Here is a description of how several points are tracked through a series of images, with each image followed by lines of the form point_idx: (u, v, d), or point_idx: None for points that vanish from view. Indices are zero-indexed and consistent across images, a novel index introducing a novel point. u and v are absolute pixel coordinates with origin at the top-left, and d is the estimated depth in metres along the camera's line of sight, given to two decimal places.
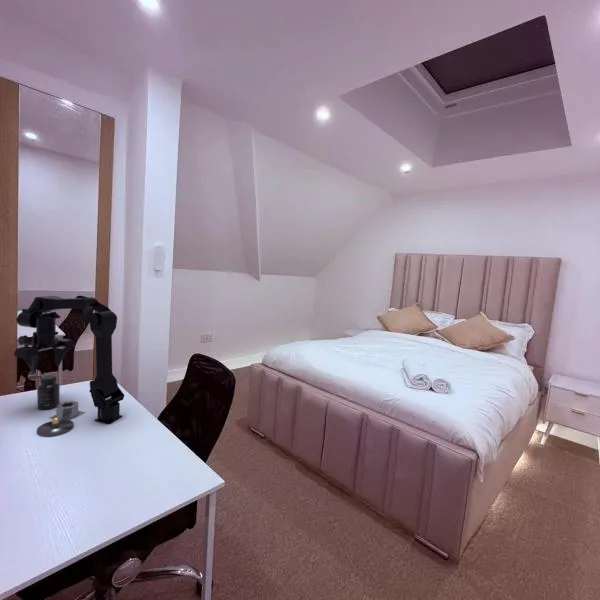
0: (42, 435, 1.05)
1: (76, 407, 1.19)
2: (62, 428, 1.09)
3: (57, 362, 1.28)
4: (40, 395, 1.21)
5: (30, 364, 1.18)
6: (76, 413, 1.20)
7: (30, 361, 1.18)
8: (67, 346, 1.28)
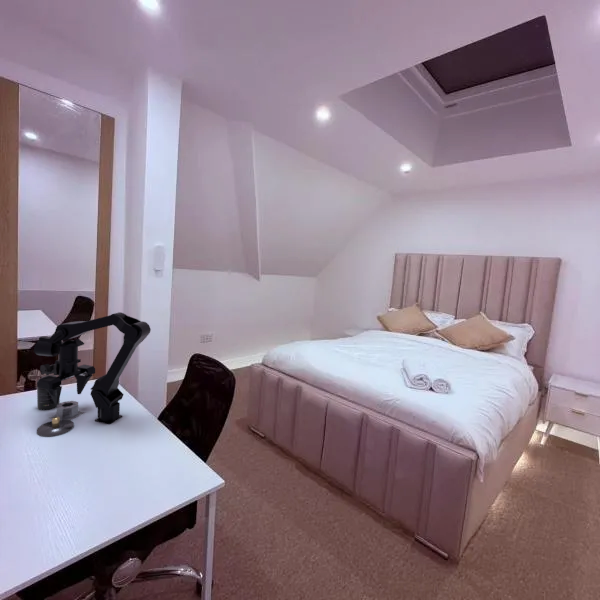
0: (42, 435, 1.05)
1: (76, 407, 1.19)
2: (62, 428, 1.09)
3: (79, 390, 1.23)
4: (40, 395, 1.21)
5: (53, 394, 1.13)
6: (76, 413, 1.20)
7: (53, 391, 1.13)
8: (89, 373, 1.24)
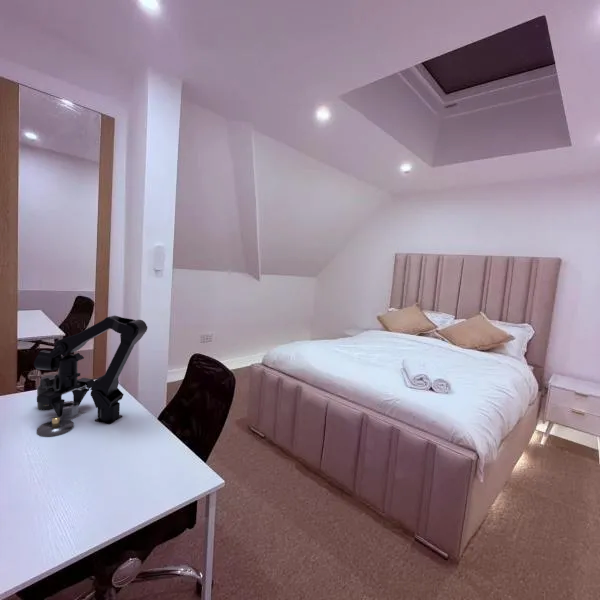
0: (42, 435, 1.05)
1: (76, 407, 1.19)
2: (62, 428, 1.09)
3: None
4: None
5: (56, 407, 1.15)
6: (76, 413, 1.20)
7: (56, 404, 1.15)
8: (89, 386, 1.24)
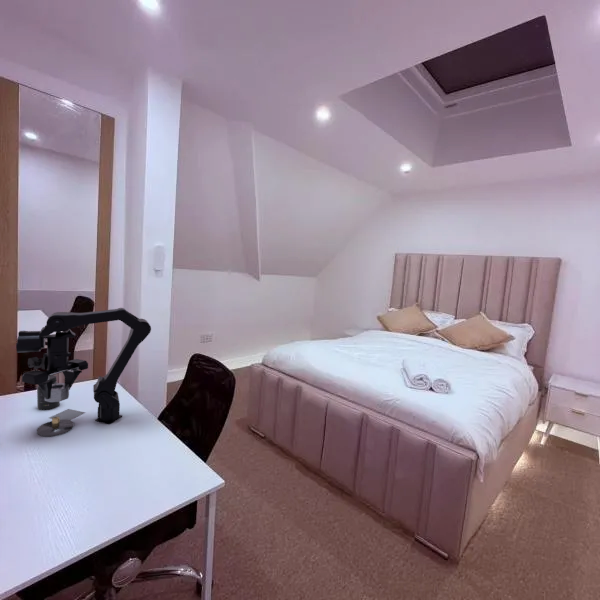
0: (42, 435, 1.05)
1: (66, 389, 1.10)
2: (62, 428, 1.09)
3: None
4: (40, 395, 1.21)
5: (43, 389, 1.05)
6: (66, 396, 1.10)
7: (43, 386, 1.05)
8: (81, 368, 1.15)
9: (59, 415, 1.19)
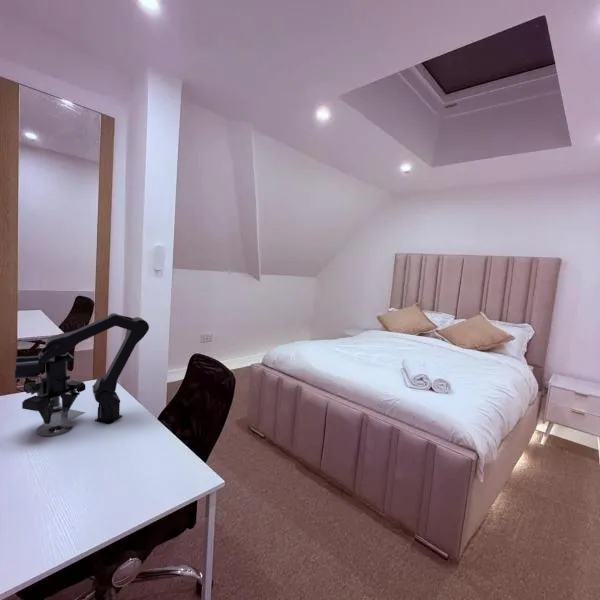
0: (42, 435, 1.05)
1: (65, 413, 1.10)
2: (62, 428, 1.09)
3: None
4: (40, 395, 1.21)
5: (43, 414, 1.05)
6: (66, 419, 1.10)
7: (43, 411, 1.05)
8: (79, 390, 1.14)
9: None
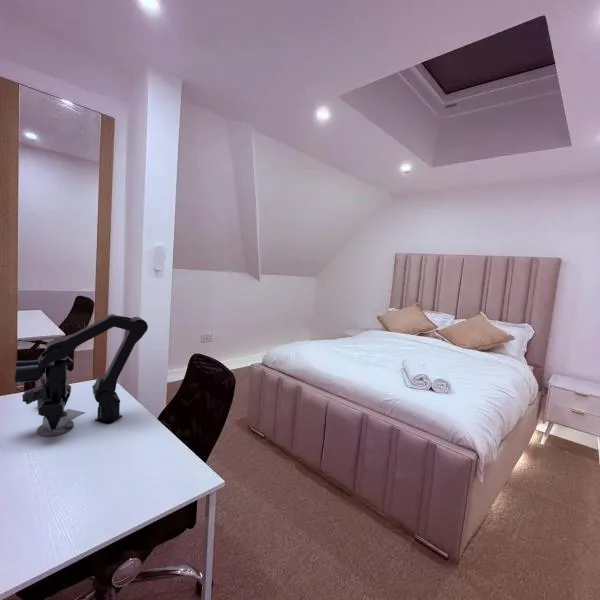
0: (42, 435, 1.05)
1: (67, 415, 1.12)
2: None
3: None
4: None
5: (52, 420, 1.04)
6: (67, 421, 1.12)
7: (52, 416, 1.04)
8: (70, 392, 1.16)
9: None
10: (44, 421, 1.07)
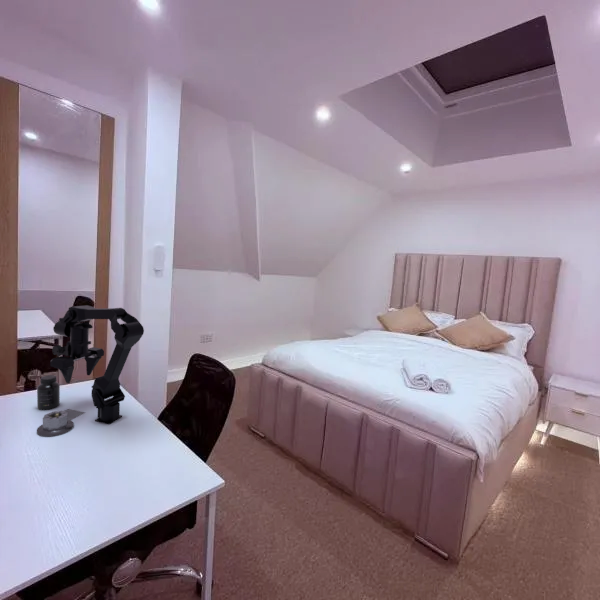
0: (42, 435, 1.05)
1: (67, 415, 1.12)
2: None
3: (89, 371, 1.28)
4: (40, 395, 1.21)
5: (65, 374, 1.18)
6: (67, 421, 1.12)
7: (65, 371, 1.18)
8: (98, 355, 1.29)
9: None
10: (44, 421, 1.07)
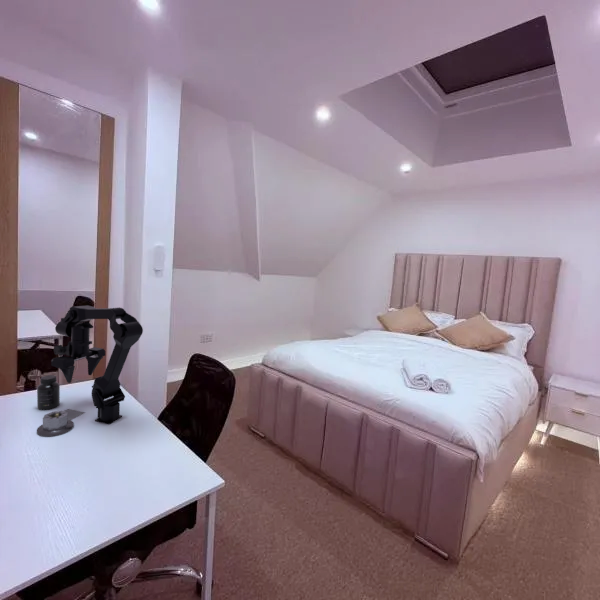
0: (42, 435, 1.05)
1: (67, 415, 1.12)
2: None
3: (90, 371, 1.29)
4: (40, 395, 1.21)
5: (66, 374, 1.19)
6: (67, 421, 1.12)
7: (66, 371, 1.18)
8: (100, 355, 1.29)
9: None
10: (44, 421, 1.07)
